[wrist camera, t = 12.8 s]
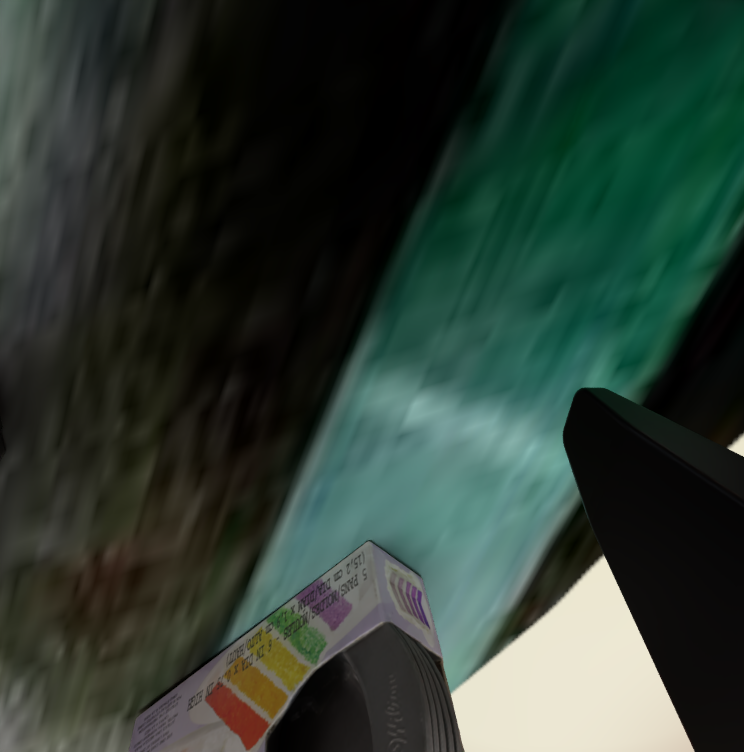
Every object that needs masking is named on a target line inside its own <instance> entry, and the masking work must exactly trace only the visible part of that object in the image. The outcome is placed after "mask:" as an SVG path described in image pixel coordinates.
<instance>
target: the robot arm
mask: <svg viewBox="0 0 744 752" xmlns="http://www.w3.org/2000/svg"><path fill="white" fill-rule="evenodd" d="M1 429H2V421H1V418H0V430H1ZM563 444H564V447H565V450H566V453H567V456H568V459H569V463H570V466H571V469H572V472H573V475H574V478H575V481H576V484H577V487H578V490H579V493H580V496H581V499H582V502H583V505H584V508H585V511H586V514H587V516H588V519H589V522H590V524H591V527H592V529H593V531H594V534H595V536H596V538H597V541H598V543H599V545H600V547H601V549H602V551H603V554H604V556H605V558H606V560H607V562H608V564H609V567H610V569H611V571H612V573H613V575H614V577H615V580H616V582H617V584H618V586H619V588H620V590H621V593H622V595H623V597H624V599H625V601H626V604H627V606H628V608H629V610H630V612H631V614H632V617H633V619H634V621H635V623H636V625H637V627H638V630H639V631H640V634H641V636H642V638H643V640H644V643H645V645H646V647H647V649H648V651H649V653H650V655H651V658H652V659H653V662H654V664H655V666H656V668H657V671H658V673H659V675H660V677H661V679H662V682H663V684H664V686H665V688H666V690H667V692H668V695H669V697H670V699H671V701H672V703H673V705H674V707H675V710H676V712H677V714H678V716H679V718H680V721H681V723H682V725H683V727H684V729H685V732H686V734H687V736H688V738H689V740H690V742H691V745H692V747H693V749H694V751H695V752H744V457H743V456H741V455H739V454H737V453H735V452H733V451H731V450H729V449H727V448H725V447H723V446H721V445H719V444H717V443H715V442H713V441H711V440H709V439H707V438H705V437H703V436H701V435H699V434H697V433H695V432H693V431H691V430H689V429H687V428H685V427H683V426H681V425H679V424H676V423H674V422H672V421H670V420H668V419H666V418H664V417H662V416H660V415H658V414H656V413H654V412H652V411H650V410H648V409H646V408H644V407H642V406H640V405H638V404H636V403H634V402H632V401H630V400H628V399H626V398H624V397H622V396H620V395H618V394H616V393H614V392H612V391H610V390H608V389H605V388H581V389H579V390H578V391H577V392H576V393H575V395H574V398H573V401H572V404H571V407H570V410H569V413H568V417H567V420H566V423H565V426H564V430H563ZM4 454H5V449H4V445H3V441H2V438H1V434H0V461H1V459H2V457H3V456H4Z"/></svg>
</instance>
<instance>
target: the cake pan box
mask: <svg viewBox="0 0 744 752" xmlns="http://www.w3.org/2000/svg"><path fill="white" fill-rule="evenodd" d="M129 752H464V748H463V745H462V741H461V737H460V731H459V728H458V724H457V719H456V715H455V711H454V707H453V702H452V698H451V694H450V690H449V686H448V682H447V678H446V675H445V671H444V667H443V657H442V653H441V648H440V644H439V640H438V637H437V633H436V629H435V625H434V621H433V617H432V613H431V609H430V606H429V602H428V598H427V594H426V590H425V587H424V583H423V579H422V578H421V577H420V576H418V575H417V574H415V573H414V572H413V571H411V570H410V569H409V568H407V567H406V566H404V565H403V564H401V563H400V562H398V561H397V560H396V559H394V558H393V557H391V556H390V555H389V554H387V553H386V552H384V551H383V550H382V549H380V548H379V547H377V546H376V545H374V544H373V543H372V542H370V541H368V542H366V543H365V544H364V545H362V546H361V547H360V548H358V549H357V550H356V551H355V552H353V553H352V554H350V555H349V556H348V557H347V558H345V559H344V560H343V561H341V562H340V563H339V564H338V565H336V566H335V567H334V568H332V569H331V570H330V571H328V572H327V573H326V574H324V575H323V576H322V577H320V578H319V579H318V580H316V581H315V582H314V583H313V584H311V585H310V586H309V587H307V588H306V589H305V590H304V591H302V592H301V593H300V594H298V595H297V596H296V597H294V598H293V599H292V600H290V601H289V602H288V603H286V604H285V605H284V606H282V607H281V608H280V609H279V610H277V611H276V612H275V613H273V614H272V615H271V616H269V617H268V618H267V619H265V620H264V621H263V622H262V623H260V624H259V625H258V626H256V627H255V628H254V629H252V630H251V631H250V632H248V633H247V634H246V635H244V636H243V637H242V638H240V639H239V640H238V641H236V642H235V643H234V644H232V645H231V646H230V647H229V648H227V649H226V650H225V651H223V652H222V653H221V654H219V655H218V656H217V657H215V658H214V659H213V660H212V661H210V662H209V663H208V664H206V665H205V666H204V667H202V668H201V669H200V670H198V671H197V672H196V673H194V674H193V675H192V676H191V677H189V678H188V679H187V680H185V681H184V682H183V683H181V684H180V685H179V686H177V687H176V688H175V689H173V690H172V691H171V692H170V693H168V694H167V695H166V696H164V697H163V698H162V699H160V700H159V701H158V702H156V703H155V704H154V705H153V706H151V707H150V708H149V709H147V710H146V711H145V712H143V713H142V714H141V715H140V716H138V717H137V718H136V720H135V725H134V729H133V734H132V738H131V743H130V747H129Z"/></svg>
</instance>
